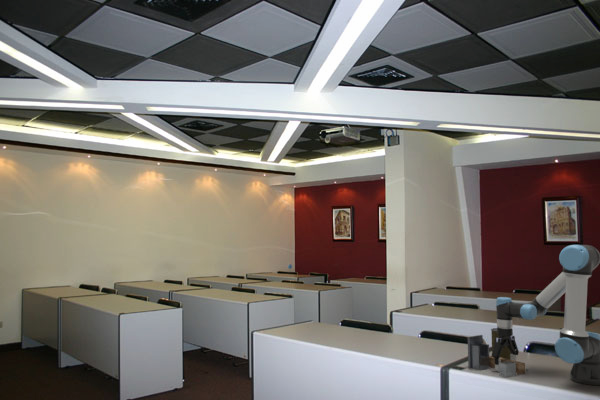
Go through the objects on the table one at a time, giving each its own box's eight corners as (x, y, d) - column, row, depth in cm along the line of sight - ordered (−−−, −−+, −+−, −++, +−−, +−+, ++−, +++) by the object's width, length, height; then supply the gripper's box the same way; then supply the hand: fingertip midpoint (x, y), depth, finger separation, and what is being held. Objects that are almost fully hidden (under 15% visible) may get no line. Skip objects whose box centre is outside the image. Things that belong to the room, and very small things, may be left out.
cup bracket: (491, 367, 244) (490, 336, 245) (477, 370, 238) (476, 338, 239) (481, 365, 249) (480, 334, 250) (468, 368, 243) (467, 336, 244)
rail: (525, 373, 234) (525, 363, 235) (519, 374, 231) (519, 364, 232) (493, 365, 249) (493, 355, 250) (487, 366, 246) (487, 356, 247)
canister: (514, 364, 250) (513, 326, 252) (494, 363, 252) (492, 326, 254) (509, 359, 261) (508, 323, 263) (490, 358, 263) (488, 322, 265)
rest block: (516, 374, 231) (515, 362, 231) (506, 377, 226) (506, 364, 227) (508, 373, 234) (508, 360, 234) (499, 375, 230) (498, 362, 230)
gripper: (511, 324, 252) (513, 364, 250) (483, 328, 239) (484, 370, 237) (525, 326, 246) (526, 367, 244) (496, 330, 233) (497, 374, 231)
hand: (505, 369), depth 241 cm, fingers open, 13 cm apart
